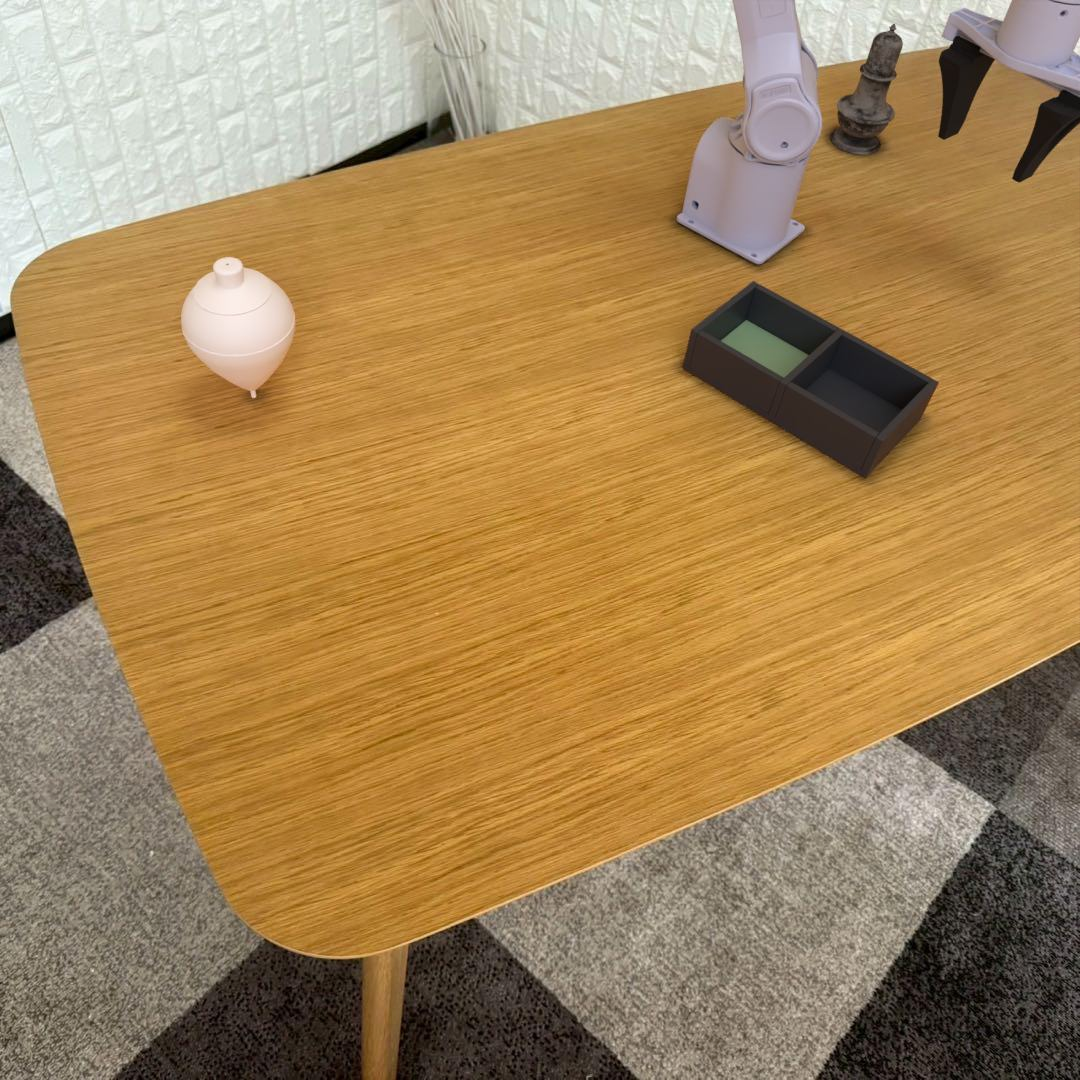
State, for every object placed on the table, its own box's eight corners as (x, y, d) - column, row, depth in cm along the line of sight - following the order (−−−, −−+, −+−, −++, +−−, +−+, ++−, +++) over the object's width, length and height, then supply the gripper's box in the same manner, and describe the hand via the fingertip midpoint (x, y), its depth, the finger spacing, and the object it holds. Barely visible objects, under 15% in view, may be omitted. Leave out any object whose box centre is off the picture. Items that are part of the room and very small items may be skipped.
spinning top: (296, 356, 80) (276, 223, 70) (314, 423, 75) (296, 291, 66) (195, 372, 78) (161, 237, 68) (208, 442, 73) (173, 308, 64)
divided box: (681, 368, 82) (690, 329, 79) (742, 319, 86) (753, 280, 83) (865, 478, 76) (883, 441, 72) (920, 419, 80) (939, 382, 77)
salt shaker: (883, 160, 104) (926, 42, 95) (826, 150, 104) (863, 32, 95) (883, 131, 108) (924, 15, 98) (827, 122, 108) (863, 5, 99)
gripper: (1175, 14, 74) (1084, 182, 85) (1009, -59, 81) (944, 105, 91) (1124, 38, 71) (1036, 208, 82) (955, -41, 77) (894, 126, 88)
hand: (984, 155), depth 86 cm, fingers open, 7 cm apart
